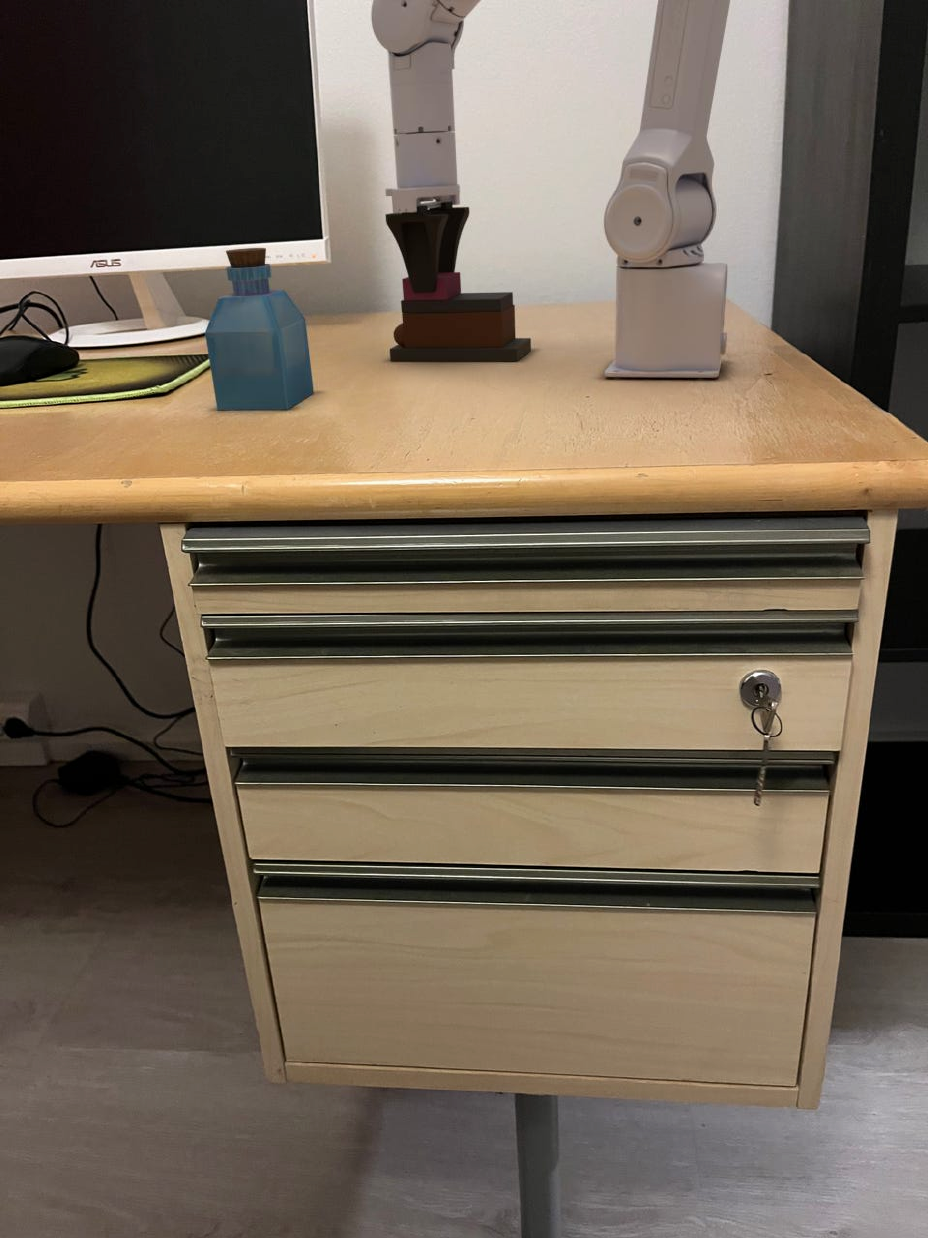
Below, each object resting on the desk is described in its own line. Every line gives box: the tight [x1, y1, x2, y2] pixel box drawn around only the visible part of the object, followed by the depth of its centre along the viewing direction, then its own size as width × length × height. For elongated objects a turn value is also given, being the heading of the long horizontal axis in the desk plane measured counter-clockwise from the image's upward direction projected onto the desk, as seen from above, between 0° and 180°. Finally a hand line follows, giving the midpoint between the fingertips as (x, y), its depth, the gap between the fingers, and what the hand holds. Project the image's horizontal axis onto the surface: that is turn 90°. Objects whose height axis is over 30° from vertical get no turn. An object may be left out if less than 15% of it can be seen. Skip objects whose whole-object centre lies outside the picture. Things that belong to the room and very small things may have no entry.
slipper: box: [400, 271, 514, 314], centre depth 93 cm, size 10×5×3 cm, turn 74°
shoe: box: [389, 304, 532, 362], centre depth 95 cm, size 13×6×4 cm, turn 74°
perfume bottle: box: [204, 247, 315, 411], centre depth 78 cm, size 6×6×12 cm
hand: (433, 288), depth 94 cm, fingers closed on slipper, 5 cm apart
